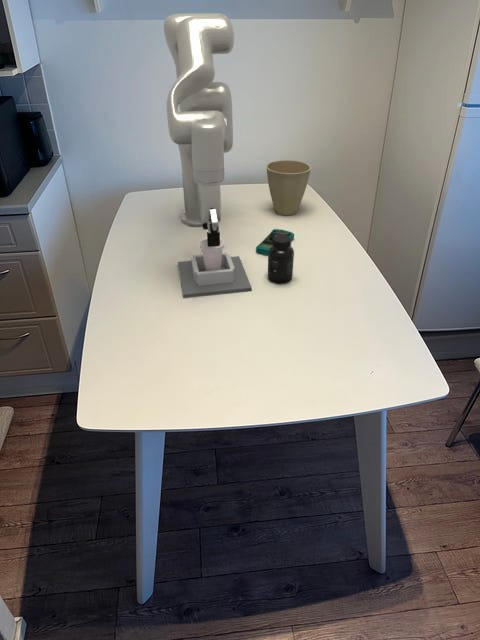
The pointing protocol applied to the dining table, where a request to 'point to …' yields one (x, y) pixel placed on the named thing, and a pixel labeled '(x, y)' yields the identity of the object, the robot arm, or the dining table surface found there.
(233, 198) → the dining table surface
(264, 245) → the digital multimeter
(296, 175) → the plant pot
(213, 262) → the smoothie
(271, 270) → the supplement bottle
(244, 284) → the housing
